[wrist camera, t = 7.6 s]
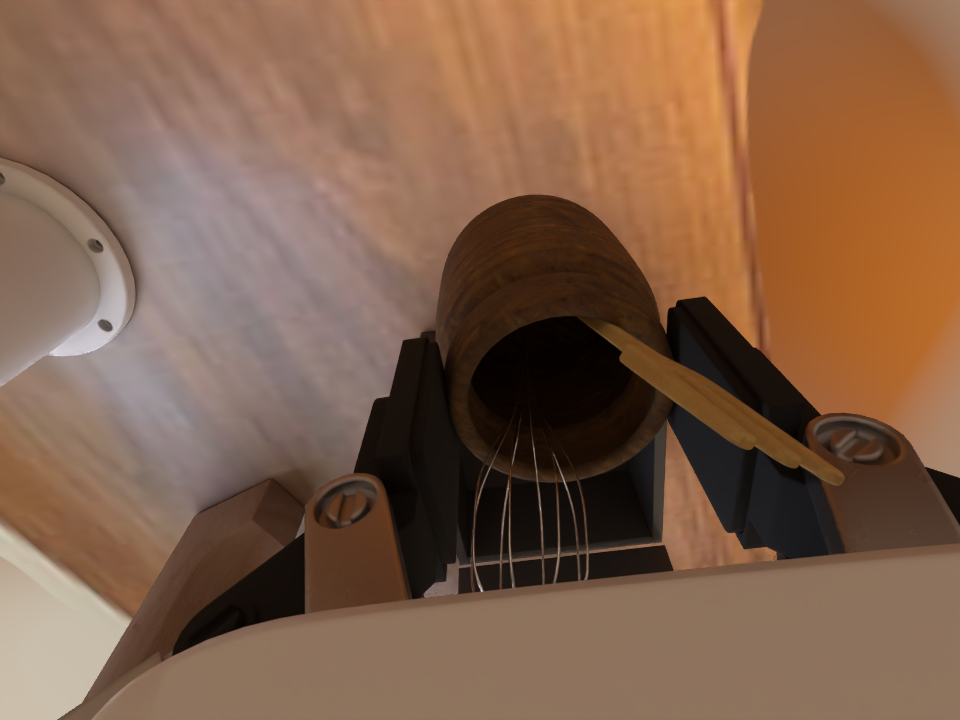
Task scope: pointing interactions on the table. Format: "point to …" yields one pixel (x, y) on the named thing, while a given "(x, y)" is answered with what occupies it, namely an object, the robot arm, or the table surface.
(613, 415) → the utensil holder
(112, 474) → the table surface
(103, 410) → the table surface
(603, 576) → the lid
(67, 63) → the table surface
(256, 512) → the wooden block
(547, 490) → the black box
